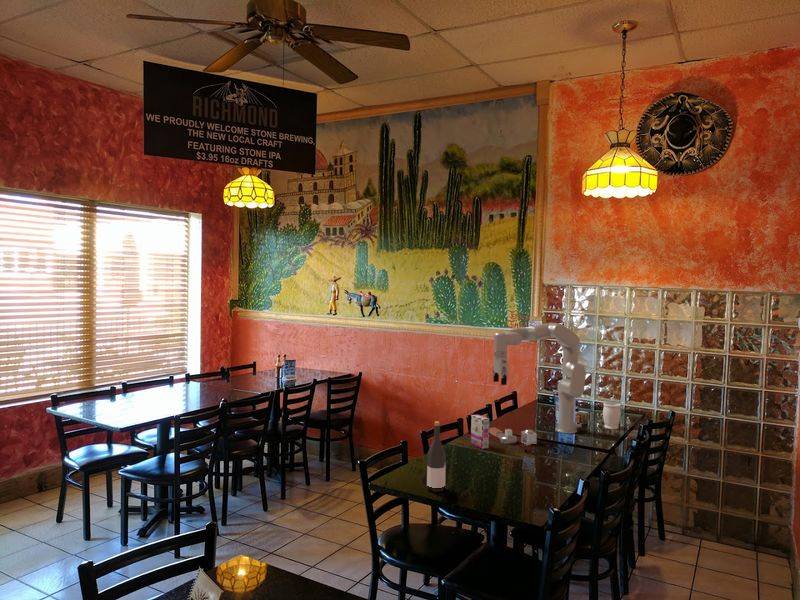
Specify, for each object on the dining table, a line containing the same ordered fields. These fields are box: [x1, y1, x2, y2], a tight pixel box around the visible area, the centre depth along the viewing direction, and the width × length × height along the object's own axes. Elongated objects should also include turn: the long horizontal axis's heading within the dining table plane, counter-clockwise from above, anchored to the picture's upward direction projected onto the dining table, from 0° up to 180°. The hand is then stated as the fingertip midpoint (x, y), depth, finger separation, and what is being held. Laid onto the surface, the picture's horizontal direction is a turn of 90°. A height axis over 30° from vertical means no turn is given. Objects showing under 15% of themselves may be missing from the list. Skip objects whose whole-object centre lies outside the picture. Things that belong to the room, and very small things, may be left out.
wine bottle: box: [426, 421, 447, 488], centre depth 259 cm, size 8×8×30 cm
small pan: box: [489, 426, 518, 445], centre depth 341 cm, size 9×26×7 cm, turn 17°
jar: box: [602, 401, 622, 430], centre depth 367 cm, size 11×10×15 cm
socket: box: [520, 429, 538, 446], centre depth 331 cm, size 6×6×7 cm
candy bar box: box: [470, 414, 491, 450], centre depth 324 cm, size 11×5×16 cm, turn 27°
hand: (499, 383), depth 343 cm, fingers open, 9 cm apart
